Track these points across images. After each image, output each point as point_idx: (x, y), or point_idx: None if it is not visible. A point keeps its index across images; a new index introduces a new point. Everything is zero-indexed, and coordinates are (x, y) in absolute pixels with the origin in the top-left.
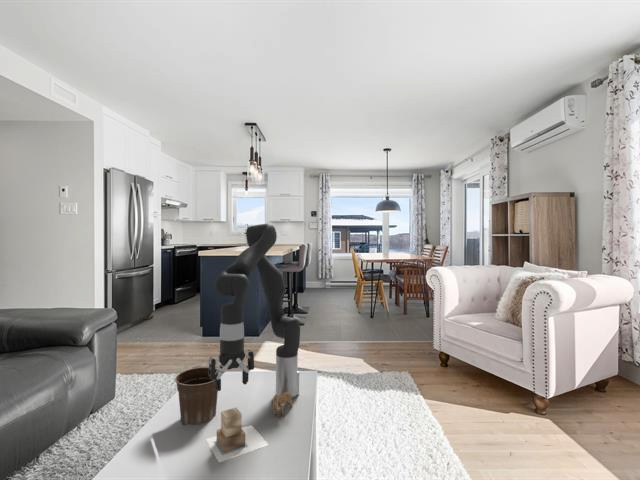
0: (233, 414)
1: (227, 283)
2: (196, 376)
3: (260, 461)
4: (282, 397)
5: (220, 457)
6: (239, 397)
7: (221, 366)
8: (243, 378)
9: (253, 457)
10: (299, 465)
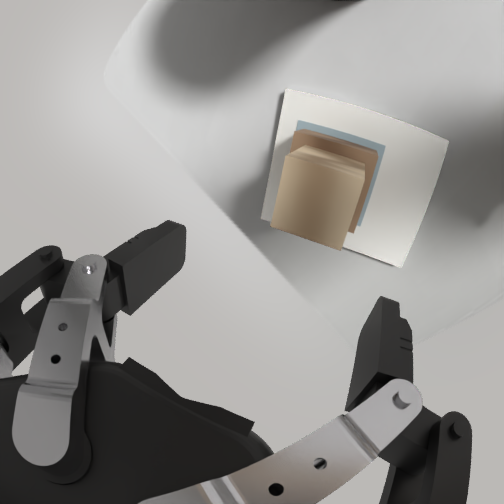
0: (311, 226)
1: None
2: None
3: (345, 282)
4: None
5: (273, 204)
6: None
7: (69, 334)
8: (367, 343)
9: (345, 258)
10: None
